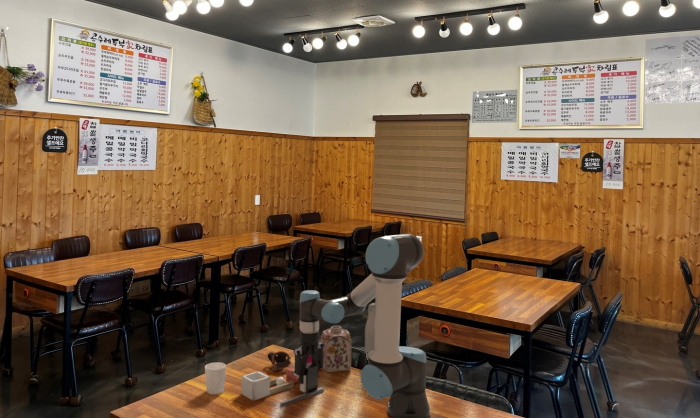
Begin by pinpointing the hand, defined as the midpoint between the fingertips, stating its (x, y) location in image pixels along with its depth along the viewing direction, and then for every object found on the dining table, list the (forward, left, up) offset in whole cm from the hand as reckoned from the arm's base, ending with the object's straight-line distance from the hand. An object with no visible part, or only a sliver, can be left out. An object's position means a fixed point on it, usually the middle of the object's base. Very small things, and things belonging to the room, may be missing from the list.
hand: (308, 389), depth 204 cm
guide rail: (-4, +6, -1) cm, 7 cm away
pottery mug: (+28, -6, -1) cm, 29 cm away
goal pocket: (+11, +17, -1) cm, 20 cm away
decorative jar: (+12, -25, -1) cm, 28 cm away
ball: (+11, +6, +1) cm, 12 cm away
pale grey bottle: (+2, -40, -1) cm, 40 cm away
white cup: (+24, +27, -1) cm, 36 cm away
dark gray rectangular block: (+5, 0, -1) cm, 5 cm away
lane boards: (+11, +8, -1) cm, 13 cm away
